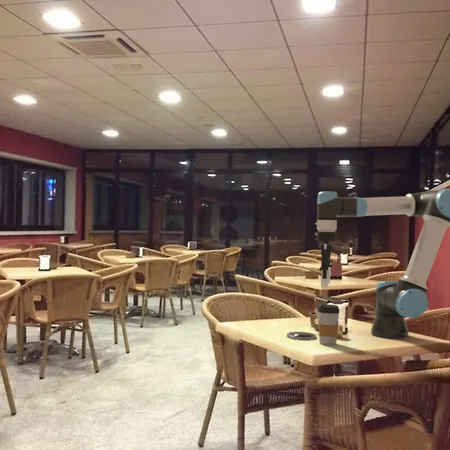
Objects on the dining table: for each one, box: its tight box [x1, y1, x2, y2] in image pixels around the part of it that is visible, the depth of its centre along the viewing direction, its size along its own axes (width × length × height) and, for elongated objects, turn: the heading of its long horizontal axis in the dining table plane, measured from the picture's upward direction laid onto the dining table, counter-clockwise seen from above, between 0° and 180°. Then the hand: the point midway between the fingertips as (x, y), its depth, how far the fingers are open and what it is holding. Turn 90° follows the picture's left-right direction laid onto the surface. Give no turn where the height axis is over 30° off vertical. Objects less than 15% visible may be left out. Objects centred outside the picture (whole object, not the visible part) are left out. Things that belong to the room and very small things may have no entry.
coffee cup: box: [317, 303, 340, 346], centre depth 205 cm, size 8×8×15 cm
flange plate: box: [286, 331, 317, 341], centre depth 218 cm, size 12×12×1 cm
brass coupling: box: [337, 324, 344, 340], centre depth 218 cm, size 5×5×5 cm
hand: (325, 285), depth 207 cm, fingers open, 13 cm apart
